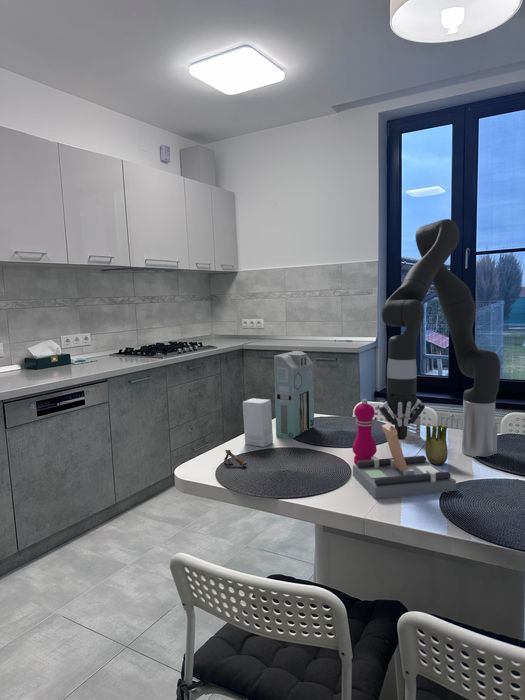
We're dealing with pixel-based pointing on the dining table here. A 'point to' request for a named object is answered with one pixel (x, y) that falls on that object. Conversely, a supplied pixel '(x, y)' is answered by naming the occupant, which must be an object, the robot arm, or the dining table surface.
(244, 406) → the skincare box
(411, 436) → the french press
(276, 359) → the device
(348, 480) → the dining table surface
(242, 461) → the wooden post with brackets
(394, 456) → the lever
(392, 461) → the panel
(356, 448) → the pepper mill
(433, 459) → the fennel bulb
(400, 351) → the robot arm
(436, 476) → the pair of dark bars
